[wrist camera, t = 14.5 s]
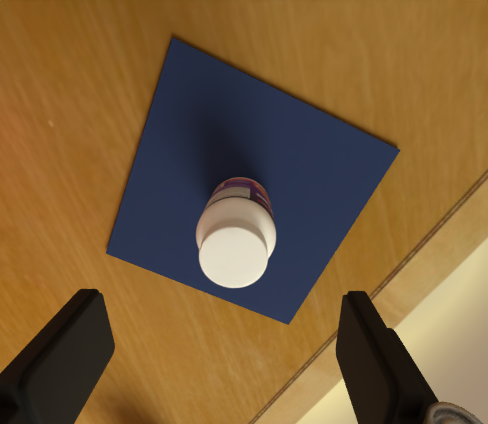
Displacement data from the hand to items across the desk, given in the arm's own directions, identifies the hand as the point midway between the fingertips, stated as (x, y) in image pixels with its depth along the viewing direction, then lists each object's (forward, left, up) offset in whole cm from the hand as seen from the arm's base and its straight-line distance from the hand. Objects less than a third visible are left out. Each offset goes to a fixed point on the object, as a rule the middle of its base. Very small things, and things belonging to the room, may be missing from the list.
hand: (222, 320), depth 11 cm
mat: (0, 0, -15) cm, 15 cm away
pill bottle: (0, 0, -15) cm, 15 cm away
